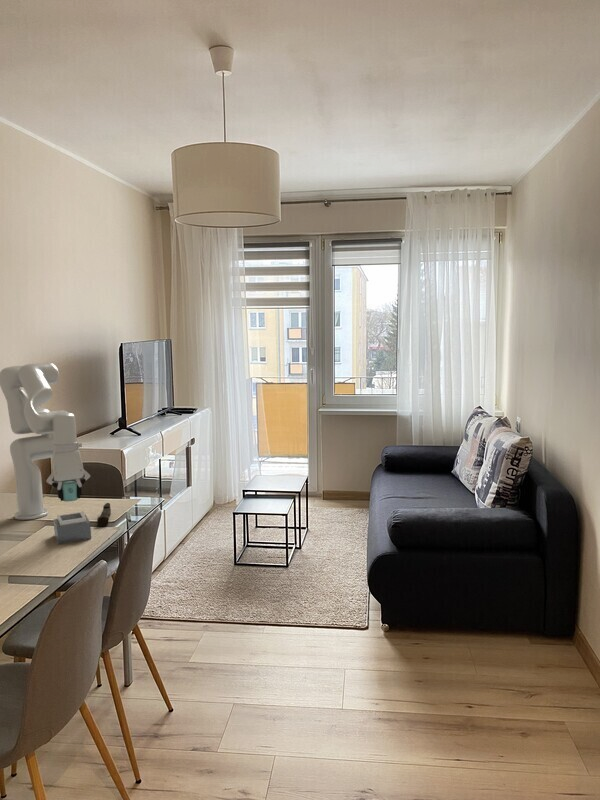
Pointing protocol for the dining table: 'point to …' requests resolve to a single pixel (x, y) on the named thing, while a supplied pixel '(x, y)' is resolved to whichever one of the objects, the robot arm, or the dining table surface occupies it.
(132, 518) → the dining table surface
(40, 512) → the robot arm
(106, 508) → the hand tool
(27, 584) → the dining table surface
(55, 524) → the grey plastic box
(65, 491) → the teal toy block
